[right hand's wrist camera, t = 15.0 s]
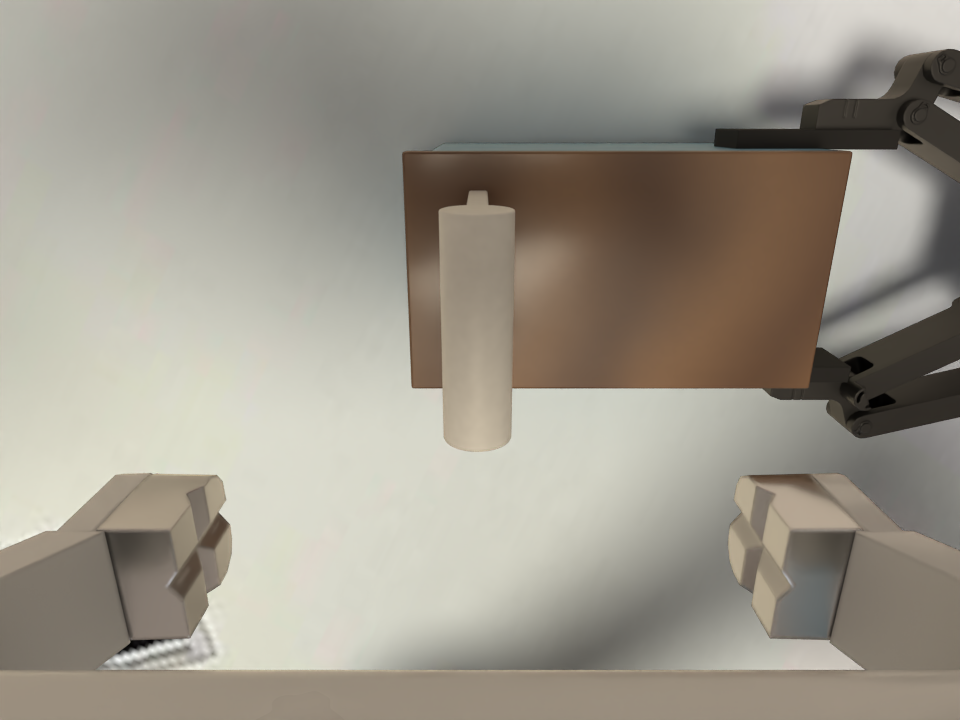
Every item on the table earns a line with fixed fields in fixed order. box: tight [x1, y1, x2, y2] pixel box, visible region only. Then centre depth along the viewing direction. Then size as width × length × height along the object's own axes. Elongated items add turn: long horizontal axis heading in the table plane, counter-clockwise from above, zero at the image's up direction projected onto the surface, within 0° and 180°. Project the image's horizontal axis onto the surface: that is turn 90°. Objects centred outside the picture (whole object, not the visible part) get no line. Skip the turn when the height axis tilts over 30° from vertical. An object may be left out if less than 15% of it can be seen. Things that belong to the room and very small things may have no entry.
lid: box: [402, 150, 852, 452], centre depth 22 cm, size 17×10×9 cm, turn 90°
